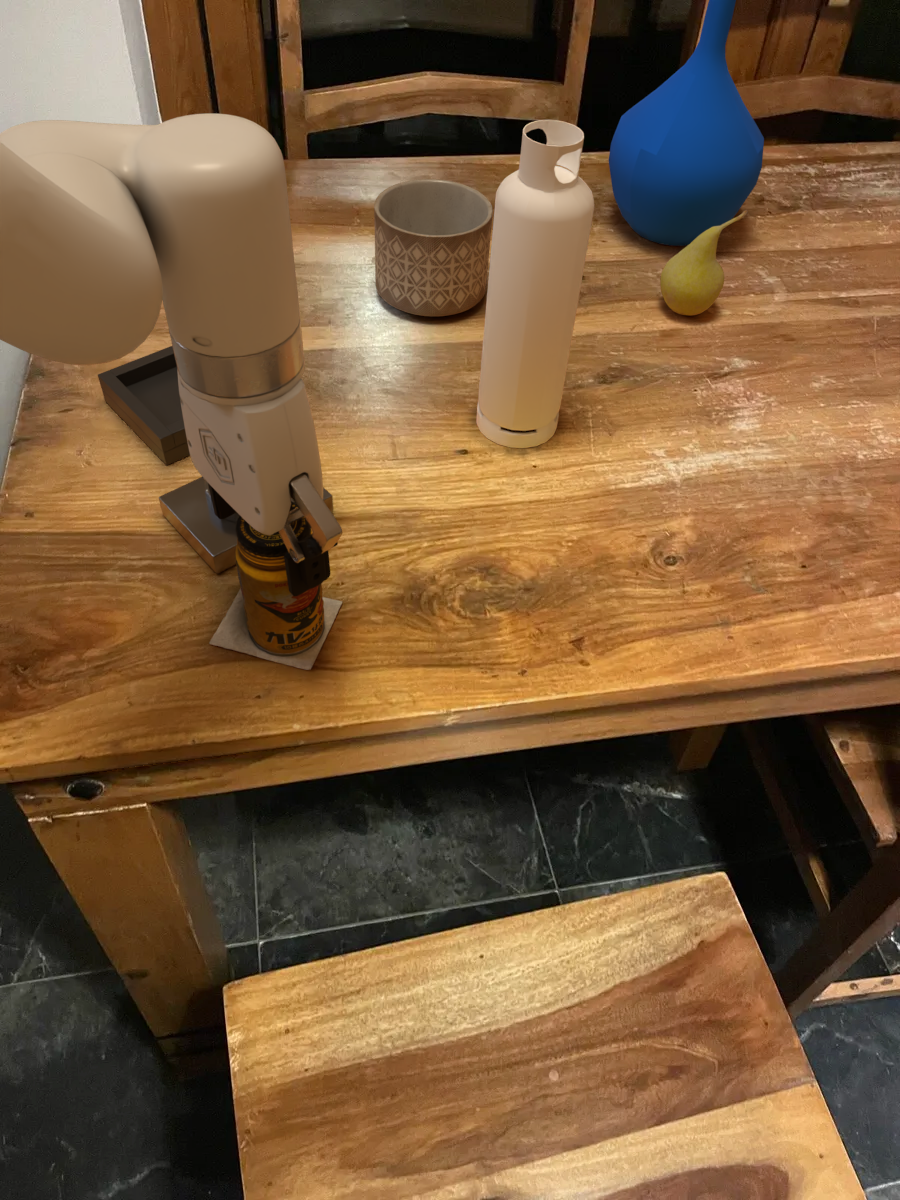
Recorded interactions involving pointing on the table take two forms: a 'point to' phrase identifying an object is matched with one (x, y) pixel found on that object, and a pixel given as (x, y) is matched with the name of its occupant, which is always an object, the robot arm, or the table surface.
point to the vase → (688, 146)
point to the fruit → (695, 274)
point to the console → (206, 523)
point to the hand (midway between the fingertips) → (271, 546)
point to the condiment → (274, 603)
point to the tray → (150, 402)
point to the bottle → (534, 287)
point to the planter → (432, 246)
